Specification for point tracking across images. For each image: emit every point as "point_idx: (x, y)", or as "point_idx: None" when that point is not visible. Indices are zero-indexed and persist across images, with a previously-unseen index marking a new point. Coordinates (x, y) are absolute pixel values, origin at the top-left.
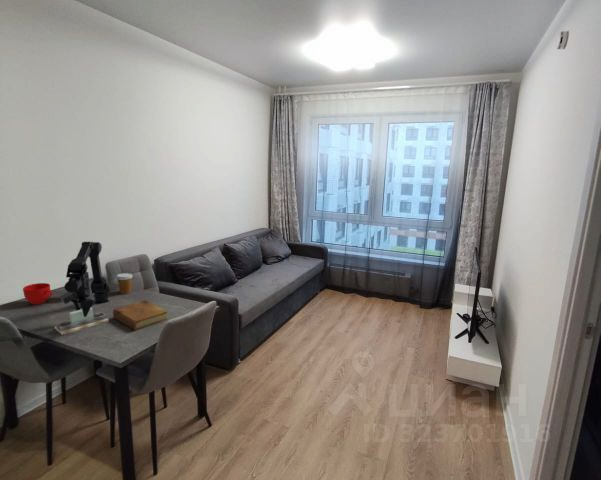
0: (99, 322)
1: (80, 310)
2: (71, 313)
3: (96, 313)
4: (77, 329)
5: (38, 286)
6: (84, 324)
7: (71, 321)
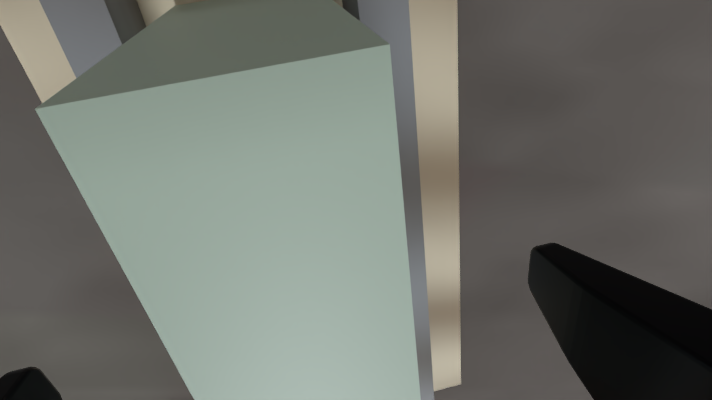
0: None
1: (346, 397)
2: (169, 115)
3: (422, 397)
4: (35, 68)
5: None
6: None
7: (221, 11)
